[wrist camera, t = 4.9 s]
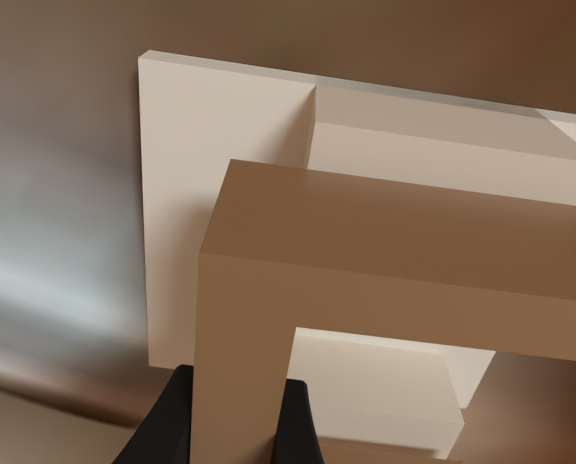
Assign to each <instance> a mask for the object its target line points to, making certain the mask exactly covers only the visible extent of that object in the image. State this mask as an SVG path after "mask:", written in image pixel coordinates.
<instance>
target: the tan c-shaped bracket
mask: <svg viewBox="0 0 576 464" xmlns="http://www.w3.org/2000/svg"><path fill="white" fill-rule="evenodd" d="M296 327H300V328H309V329H317V330H325V331H333V332H342V333H350V334H358V335H366V336H375V337H383V338H391V339H399V340H408V341H416V342H424V343H432V344H441V345H449V346H457V347H466V348H474V349H482V350H490V351H499V352H507V353H515V354H523V355H532V356H540V357H548V358H556V359H565V360H573V361H576V206H574V205H567V204H560V203H552V202H545V201H538V200H530V199H523V198H516V197H508V196H501V195H494V194H486V193H479V192H472V191H464V190H457V189H450V188H442V187H435V186H428V185H420V184H413V183H406V182H398V181H391V180H384V179H377V178H369V177H362V176H355V175H347V174H340V173H333V172H325V171H318V170H311V169H303V168H296V167H289V166H281V165H274V164H267V163H259V162H252V161H245V160H237V159H230V162H229V165H228V168H227V171H226V174H225V177H224V180H223V183H222V186H221V189H220V192H219V195H218V198H217V200H216V203H215V206H214V209H213V212H212V215H211V218H210V221H209V224H208V227H207V230H206V233H205V236H204V239H203V242H202V245H201V248H200V251H199V260H198V283H197V306H196V329H195V352H194V376H193V399H192V422H191V445H190V464H270V461H271V455H272V450H273V445H274V440H275V435H276V430H277V424H278V419H279V414H280V409H281V404H282V398H283V393H284V388H285V383H286V378H287V373H288V367H289V362H290V357H291V352H292V347H293V341H294V336H295V331H296ZM319 447H320V450H321V454H322V457H323V461H324V464H462V461H454V460H445V459H436V458H427V457H418V456H409V455H399V454H390V453H381V452H372V451H363V450H354V449H345V448H336V447H327V446H319Z"/></svg>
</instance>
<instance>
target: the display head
mask: <svg viewBox="0 0 576 464" xmlns="http://www.w3.org/2000/svg"><path fill="white" fill-rule="evenodd" d="M138 68H139V96H140V125H141V153H142V182H143V210H144V239H145V267H146V296H147V324H148V353H149V366H154V367H161V368H169V369H176V367H177V366H179V365H181V364H185V365H192V366H194V352H195V329H196V306H197V283H198V260H199V251H200V248H201V245H202V242H203V239H204V236H205V233H206V230H207V227H208V224H209V221H210V218H211V215H212V212H213V209H214V206H215V203H216V200H217V198H218V195H219V192H220V189H221V186H222V183H223V180H224V177H225V174H226V171H227V168H228V165H229V162H230V159H237V160H245V161H252V162H259V163H267V164H274V165H281V166H289V167H296V168H303V169H311V170H318V171H325V172H333V173H340V174H347V175H355V176H362V177H369V178H377V179H384V180H391V181H398V182H406V183H413V184H420V185H428V186H435V187H442V188H450V189H457V190H464V191H472V192H479V193H486V194H494V195H501V196H508V197H516V198H523V199H530V200H538V201H545V202H552V203H560V204H567V205H574V206H576V114H569V113H563V112H556V111H550V110H543V109H536V108H530V107H523V106H516V105H510V104H503V103H497V102H490V101H483V100H477V99H470V98H464V97H457V96H450V95H444V94H437V93H430V92H424V91H417V90H411V89H404V88H397V87H391V86H384V85H378V84H371V83H364V82H358V81H351V80H344V79H338V78H331V77H325V76H318V75H311V74H305V73H298V72H292V71H285V70H278V69H272V68H265V67H258V66H252V65H245V64H239V63H232V62H225V61H219V60H212V59H206V58H199V57H192V56H186V55H179V54H172V53H166V52H159V51H153V50H149V51H147V52H146V53H144V54H143V55H141V56H140V57H139V58H138ZM495 352H496V351H490V350H482V349H474V348H466V347H457V346H449V345H441V344H432V343H424V342H416V341H408V340H399V339H391V338H383V337H375V336H366V335H358V334H350V333H342V332H333V331H325V330H317V329H309V328H300V327H296V331H295V336H294V341H293V347H292V352H291V357H290V362H289V367H288V373H287V378H289V379H296V380H303V381H304V382H305V383H306V384H307V388H308V396H309V402H310V408H311V413H312V418H313V423H314V427H315V431H316V435H317V439H318V443H319V446H327V447H336V448H345V449H354V450H363V451H372V452H381V453H390V454H399V455H409V456H418V457H427V458H436V459H445V460H446V459H447V457H448V455H449V453H450V451H451V449H452V447H453V446H454V444H455V442H456V440H457V438H458V436H459V434H460V432H461V431H462V429H463V427H464V425H465V424H464V420H463V417H462V413H461V410H460V408H467V406H468V404H469V402H470V400H471V398H472V396H473V394H474V392H475V390H476V388H477V386H478V385H479V383H480V381H481V379H482V377H483V375H484V373H485V371H486V369H487V367H488V365H489V364H490V362H491V360H492V358H493V356H494V354H495Z"/></svg>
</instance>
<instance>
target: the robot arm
mask: <svg viewBox="0 0 576 464" xmlns="http://www.w3.org/2000/svg"><path fill="white" fill-rule="evenodd" d="M193 376H194V366H192V365H185V364H181V365H179V366H177V367H176V369H175V371H174V373H173V375H172V377H171V378H170V380H169V382H168V384H167V385H166V387H165V389H164V390H163V392H162V394H161V395H160V397H159V398H158V400H157V401H156V403H155V404H154V406H153V408H152V409H151V411H150V412H149V414H148V415H147V417H146V418H145V419H144V421H143V422H142V424H141V425H140V426H139V428H138V429H137V431H136V432H135V433H134V435H133V436H132V438H131V439H130V440H129V442H128V443H127V444H126V446H125V447H124V449H123V450H122V451H121V453H120V454H119V455H118V456H117V458H116V459H115V460H114V461H113V463H112V464H190V445H191V422H192V399H193ZM270 464H324V461H323V457H322V454H321V450H320V447H319V443H318V439H317V435H316V431H315V427H314V423H313V418H312V413H311V408H310V402H309V396H308V388H307V384H306V383H305V382H304V381H303V380H296V379H289V378H286V383H285V388H284V393H283V398H282V404H281V409H280V414H279V419H278V424H277V430H276V435H275V440H274V445H273V450H272V455H271V461H270Z"/></svg>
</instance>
